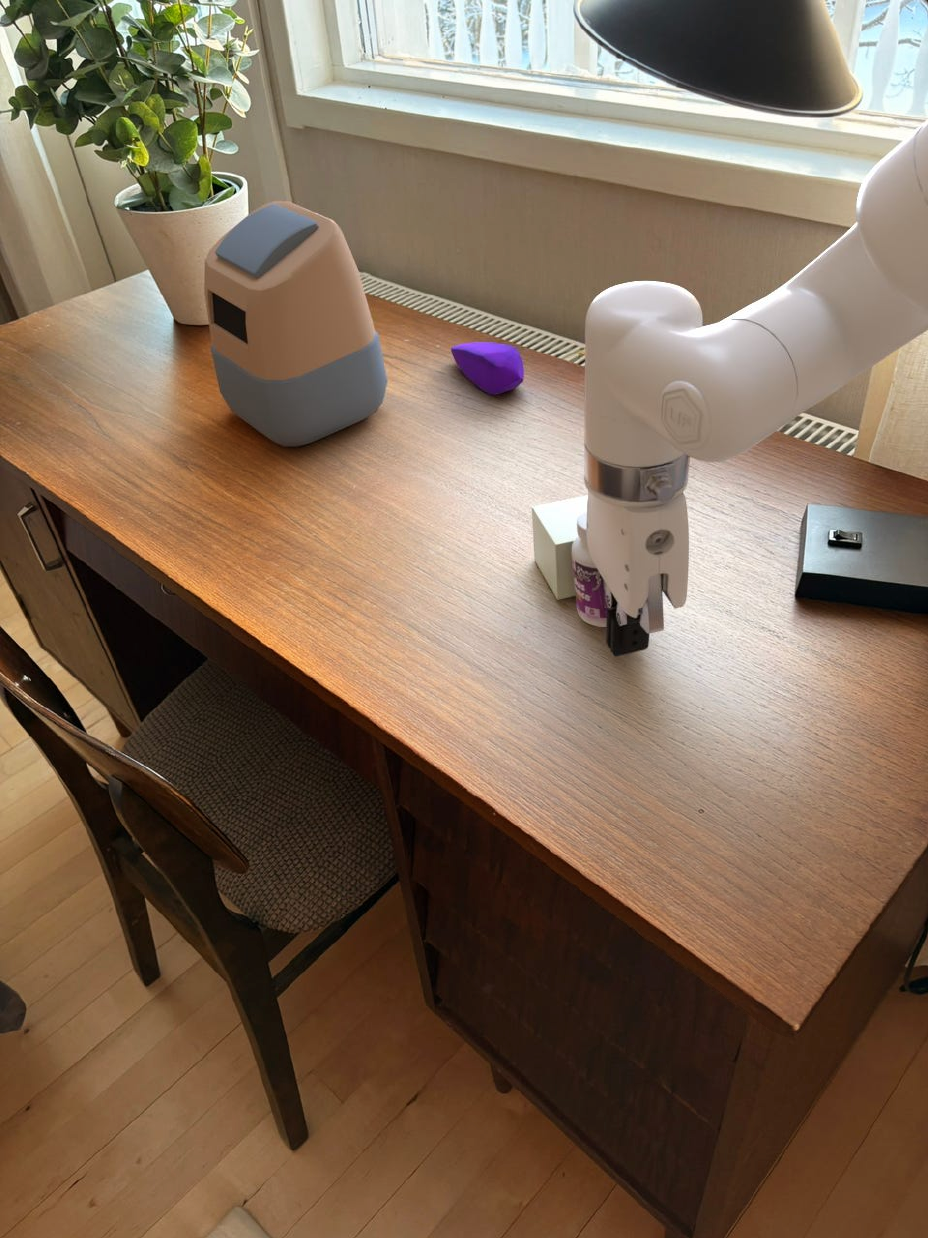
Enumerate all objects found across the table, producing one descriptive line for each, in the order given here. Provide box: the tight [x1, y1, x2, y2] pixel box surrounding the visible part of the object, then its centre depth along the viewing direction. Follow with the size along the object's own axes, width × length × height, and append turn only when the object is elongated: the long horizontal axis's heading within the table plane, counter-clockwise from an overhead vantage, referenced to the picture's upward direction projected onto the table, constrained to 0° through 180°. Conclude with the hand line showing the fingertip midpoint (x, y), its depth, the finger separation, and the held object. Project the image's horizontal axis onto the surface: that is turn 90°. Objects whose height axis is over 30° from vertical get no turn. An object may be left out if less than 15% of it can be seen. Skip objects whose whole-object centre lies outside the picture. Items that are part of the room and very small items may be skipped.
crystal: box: [450, 341, 525, 396], centre depth 118 cm, size 5×5×15 cm
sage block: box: [531, 494, 588, 601], centre depth 87 cm, size 7×7×6 cm
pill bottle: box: [572, 511, 613, 628], centre depth 81 cm, size 5×5×10 cm
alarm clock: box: [203, 200, 388, 447], centre depth 108 cm, size 17×17×23 cm
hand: (626, 646), depth 80 cm, fingers closed
